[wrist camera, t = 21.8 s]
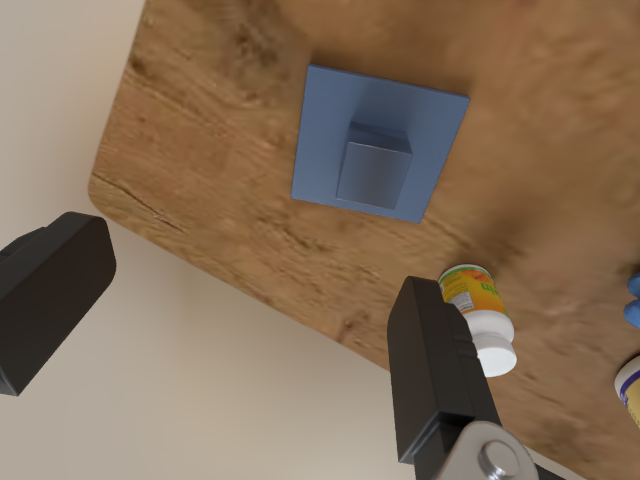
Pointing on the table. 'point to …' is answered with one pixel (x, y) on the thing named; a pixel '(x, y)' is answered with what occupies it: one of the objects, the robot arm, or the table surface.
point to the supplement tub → (630, 387)
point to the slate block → (373, 166)
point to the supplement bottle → (481, 315)
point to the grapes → (636, 310)
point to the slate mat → (380, 111)
